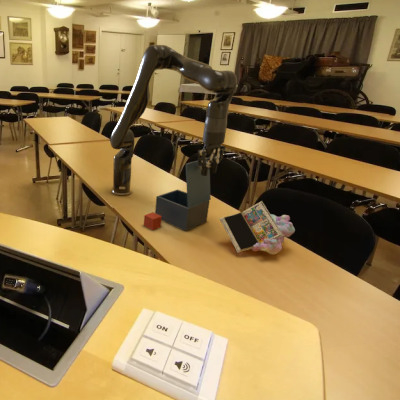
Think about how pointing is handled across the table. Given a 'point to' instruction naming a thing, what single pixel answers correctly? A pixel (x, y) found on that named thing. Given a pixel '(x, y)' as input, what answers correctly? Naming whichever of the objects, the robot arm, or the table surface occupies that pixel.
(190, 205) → the lid
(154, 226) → the block
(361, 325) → the table surface
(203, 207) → the hinged navy chest
